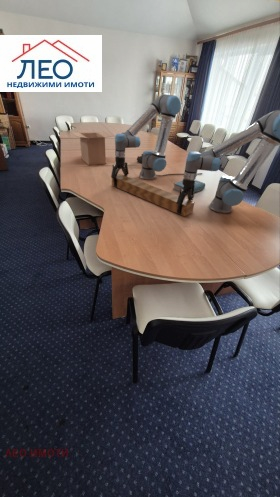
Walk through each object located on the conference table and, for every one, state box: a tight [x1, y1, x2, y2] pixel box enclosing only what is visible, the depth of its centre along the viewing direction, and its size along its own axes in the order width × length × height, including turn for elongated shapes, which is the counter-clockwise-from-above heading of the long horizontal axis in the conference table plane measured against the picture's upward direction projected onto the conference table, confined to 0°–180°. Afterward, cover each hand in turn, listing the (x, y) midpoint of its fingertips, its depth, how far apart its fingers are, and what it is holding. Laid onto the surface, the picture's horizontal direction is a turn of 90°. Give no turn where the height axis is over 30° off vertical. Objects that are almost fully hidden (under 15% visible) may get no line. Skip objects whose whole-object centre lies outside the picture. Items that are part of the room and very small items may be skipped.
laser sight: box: [136, 153, 143, 164], centre depth 240 cm, size 10×22×10 cm, turn 78°
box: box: [70, 129, 114, 166], centre depth 229 cm, size 44×36×27 cm
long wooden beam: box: [111, 173, 195, 217], centre depth 165 cm, size 72×10×7 cm, turn 48°
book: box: [173, 179, 206, 194], centre depth 186 cm, size 23×16×5 cm
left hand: (120, 184), depth 182 cm, fingers closed on long wooden beam, 10 cm apart
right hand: (183, 210), depth 150 cm, fingers closed on long wooden beam, 10 cm apart
